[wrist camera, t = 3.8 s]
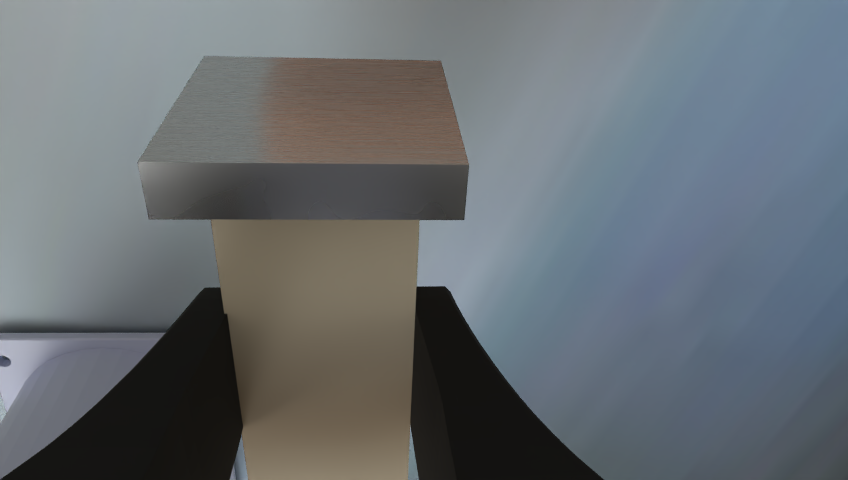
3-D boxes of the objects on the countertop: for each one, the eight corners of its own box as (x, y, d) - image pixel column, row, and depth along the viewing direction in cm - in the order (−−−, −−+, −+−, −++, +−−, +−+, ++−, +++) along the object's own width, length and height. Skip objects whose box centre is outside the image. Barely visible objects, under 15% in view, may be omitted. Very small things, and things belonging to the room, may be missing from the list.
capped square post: (417, 472, 18) (428, 630, 14) (259, 477, 17) (233, 640, 14) (440, 60, 12) (469, 164, 9) (204, 56, 12) (137, 162, 8)
